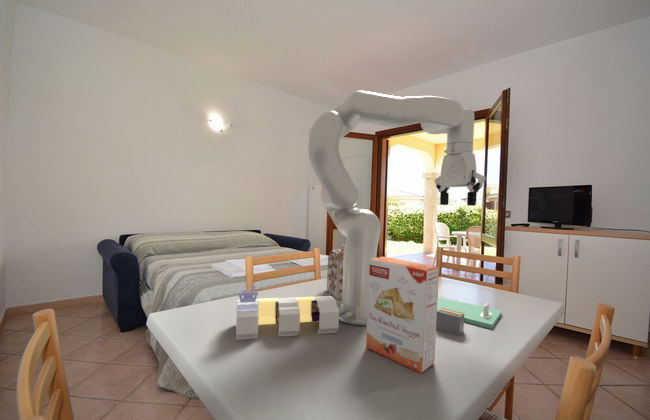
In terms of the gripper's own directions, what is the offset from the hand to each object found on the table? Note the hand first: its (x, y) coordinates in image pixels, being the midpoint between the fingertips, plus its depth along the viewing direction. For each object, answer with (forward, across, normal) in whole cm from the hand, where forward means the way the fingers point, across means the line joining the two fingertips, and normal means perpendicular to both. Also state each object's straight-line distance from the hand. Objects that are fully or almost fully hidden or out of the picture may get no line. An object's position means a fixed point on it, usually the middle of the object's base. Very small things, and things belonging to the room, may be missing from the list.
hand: (457, 205), depth 95 cm
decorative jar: (+34, -30, -20) cm, 50 cm away
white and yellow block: (+34, -10, -52) cm, 63 cm away
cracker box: (+34, +13, -36) cm, 51 cm away
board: (+34, +2, +3) cm, 34 cm away
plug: (+34, +9, -13) cm, 37 cm away
